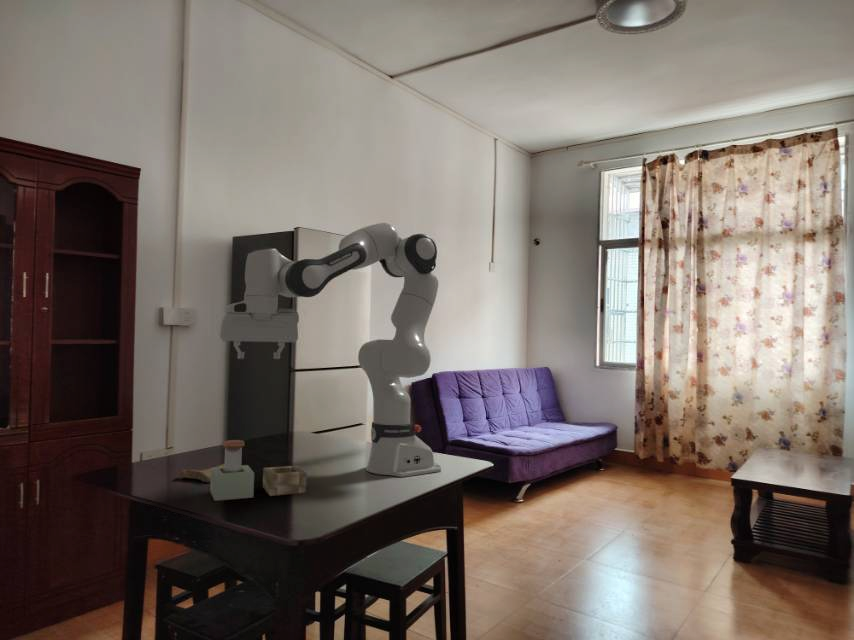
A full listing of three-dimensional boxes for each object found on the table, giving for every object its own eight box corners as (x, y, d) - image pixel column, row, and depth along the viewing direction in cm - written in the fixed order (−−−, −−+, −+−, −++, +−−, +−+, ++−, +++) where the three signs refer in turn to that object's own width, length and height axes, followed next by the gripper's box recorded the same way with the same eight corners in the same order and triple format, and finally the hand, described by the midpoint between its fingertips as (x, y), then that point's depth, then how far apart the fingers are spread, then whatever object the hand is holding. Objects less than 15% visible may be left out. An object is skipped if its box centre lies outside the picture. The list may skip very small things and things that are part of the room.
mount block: (297, 484, 163) (297, 465, 164) (305, 492, 155) (306, 472, 155) (262, 487, 159) (263, 467, 160) (269, 495, 151) (270, 475, 151)
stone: (176, 479, 167) (176, 467, 167) (226, 470, 178) (226, 459, 179) (197, 487, 160) (198, 474, 160) (248, 477, 172) (248, 465, 172)
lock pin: (240, 491, 155) (242, 439, 155) (244, 496, 151) (245, 442, 151) (220, 492, 153) (221, 440, 153) (222, 497, 148) (224, 444, 149)
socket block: (246, 488, 158) (247, 465, 158) (253, 497, 150) (254, 472, 150) (210, 491, 154) (210, 467, 154) (214, 500, 146) (215, 475, 146)
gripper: (296, 309, 172) (294, 358, 172) (220, 306, 164) (218, 358, 163) (301, 308, 167) (300, 359, 166) (223, 305, 158) (221, 359, 157)
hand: (259, 358), depth 165 cm, fingers open, 8 cm apart
